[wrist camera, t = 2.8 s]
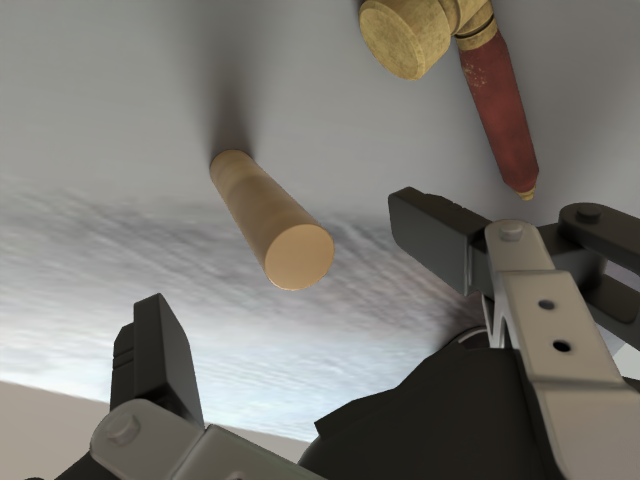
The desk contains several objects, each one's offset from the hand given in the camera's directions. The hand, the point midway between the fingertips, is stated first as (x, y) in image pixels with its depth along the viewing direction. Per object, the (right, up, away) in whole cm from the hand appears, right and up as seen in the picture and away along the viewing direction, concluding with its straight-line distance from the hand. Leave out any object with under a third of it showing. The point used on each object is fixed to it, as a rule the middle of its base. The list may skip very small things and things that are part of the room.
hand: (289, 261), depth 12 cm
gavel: (+12, +11, +13) cm, 21 cm away
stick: (-4, +5, +8) cm, 10 cm away
